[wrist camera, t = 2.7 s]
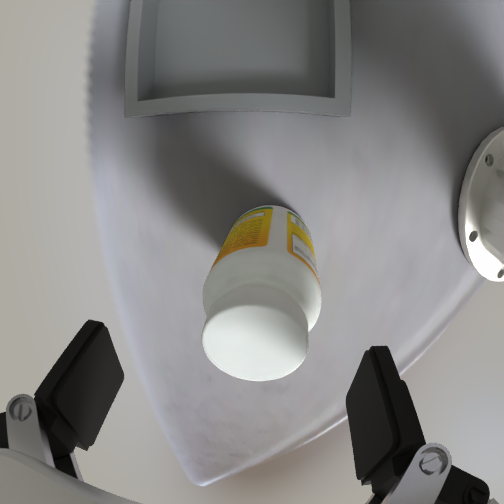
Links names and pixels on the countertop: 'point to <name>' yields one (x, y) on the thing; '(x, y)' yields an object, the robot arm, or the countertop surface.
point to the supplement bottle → (262, 296)
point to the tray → (238, 57)
